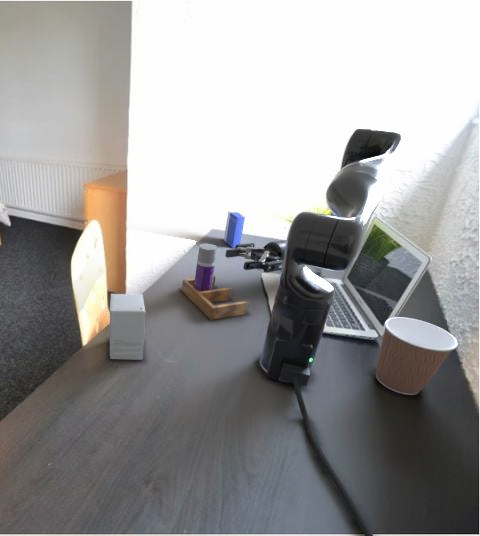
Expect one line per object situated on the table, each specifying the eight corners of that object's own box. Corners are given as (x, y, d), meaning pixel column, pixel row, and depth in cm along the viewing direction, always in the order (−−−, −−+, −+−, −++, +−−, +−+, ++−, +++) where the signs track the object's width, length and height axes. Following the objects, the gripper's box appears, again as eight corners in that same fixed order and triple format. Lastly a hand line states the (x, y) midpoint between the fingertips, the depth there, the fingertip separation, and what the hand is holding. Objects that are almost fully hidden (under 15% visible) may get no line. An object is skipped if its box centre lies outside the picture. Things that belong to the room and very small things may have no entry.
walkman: (239, 247, 136) (245, 216, 131) (232, 247, 136) (237, 216, 131) (230, 239, 143) (235, 209, 138) (223, 240, 143) (228, 209, 138)
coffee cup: (446, 402, 69) (475, 349, 64) (389, 402, 69) (413, 350, 64) (403, 364, 78) (425, 316, 73) (353, 365, 78) (372, 316, 73)
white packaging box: (141, 340, 87) (144, 293, 82) (142, 361, 81) (146, 311, 75) (109, 339, 88) (110, 292, 83) (108, 359, 82) (109, 310, 76)
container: (211, 300, 103) (218, 250, 97) (193, 299, 104) (199, 249, 98) (209, 292, 107) (216, 243, 101) (192, 290, 108) (198, 242, 102)
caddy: (211, 320, 95) (213, 308, 93) (181, 290, 109) (182, 279, 107) (246, 314, 97) (248, 302, 95) (212, 286, 111) (213, 275, 109)
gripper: (271, 232, 111) (222, 238, 108) (308, 250, 99) (254, 257, 95) (266, 255, 114) (218, 261, 111) (301, 276, 102) (248, 283, 99)
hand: (235, 259), depth 103 cm, fingers open, 8 cm apart
